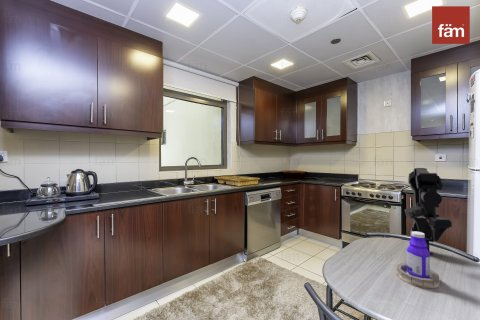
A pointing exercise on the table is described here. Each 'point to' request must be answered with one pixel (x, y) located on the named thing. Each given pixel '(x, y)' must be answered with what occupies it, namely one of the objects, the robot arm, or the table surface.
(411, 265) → the bottle
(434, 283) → the collar base
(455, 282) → the table surface
